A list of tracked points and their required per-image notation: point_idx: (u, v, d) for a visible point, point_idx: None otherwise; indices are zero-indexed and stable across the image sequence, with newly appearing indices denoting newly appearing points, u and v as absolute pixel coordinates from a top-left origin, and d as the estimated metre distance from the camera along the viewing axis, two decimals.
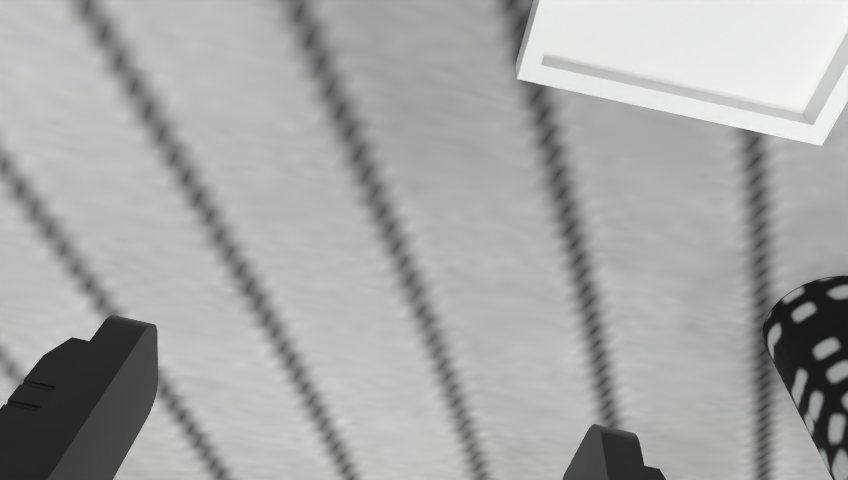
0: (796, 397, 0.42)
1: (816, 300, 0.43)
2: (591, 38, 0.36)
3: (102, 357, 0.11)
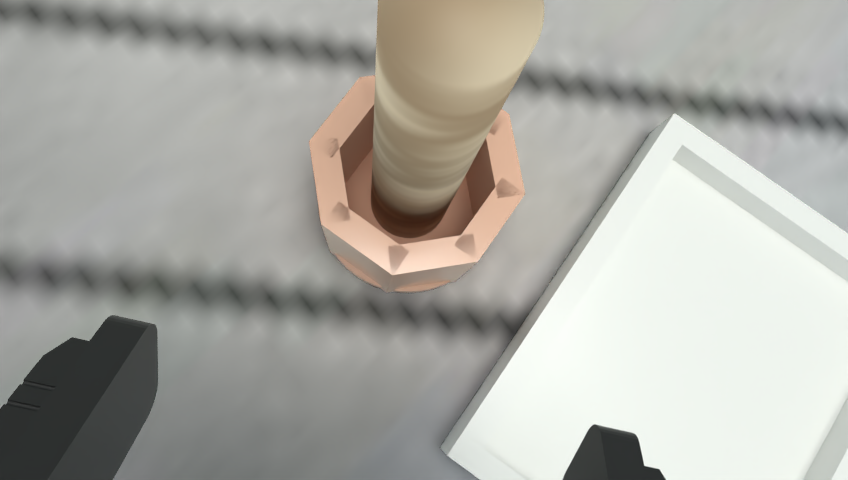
0: None
1: None
2: None
3: (102, 357, 0.11)
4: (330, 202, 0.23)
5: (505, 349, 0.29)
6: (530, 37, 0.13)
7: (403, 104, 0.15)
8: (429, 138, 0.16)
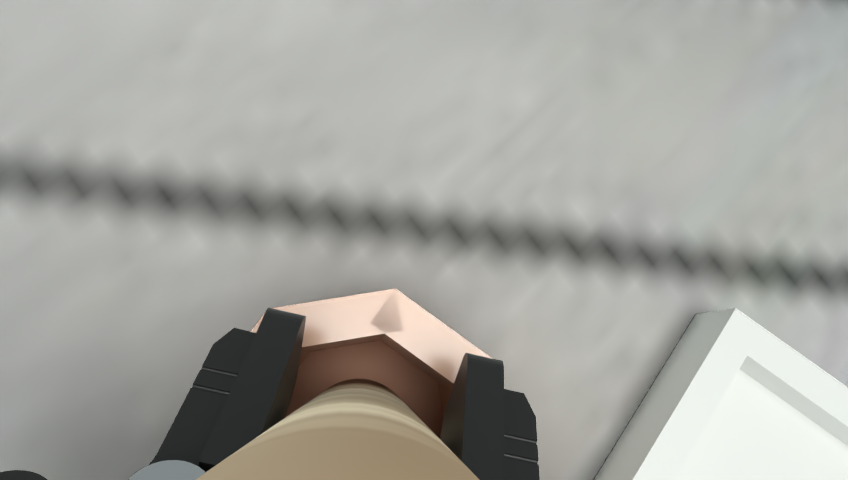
0: None
1: None
2: None
3: (271, 346, 0.12)
4: None
5: None
6: None
7: None
8: None
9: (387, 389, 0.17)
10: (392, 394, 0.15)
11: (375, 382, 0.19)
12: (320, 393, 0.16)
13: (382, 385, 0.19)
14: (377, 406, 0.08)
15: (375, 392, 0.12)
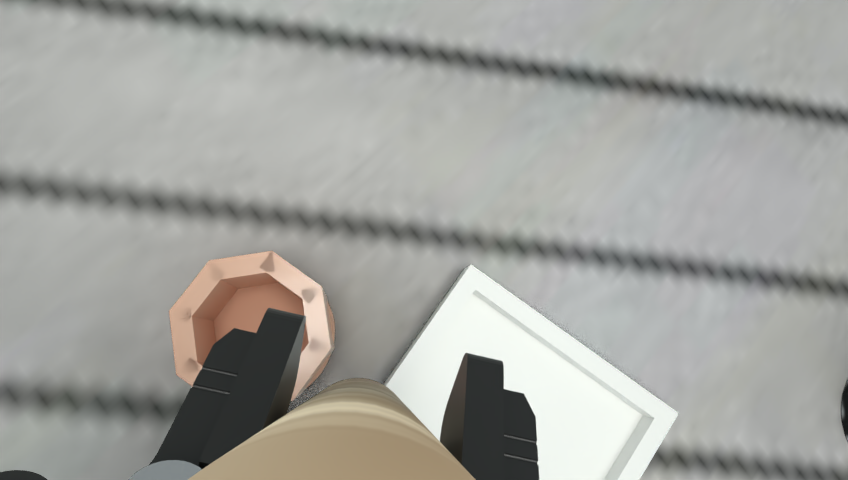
0: None
1: None
2: None
3: (272, 345, 0.12)
4: (183, 357, 0.31)
5: None
6: None
7: None
8: None
9: (385, 388, 0.17)
10: (390, 393, 0.15)
11: (374, 381, 0.19)
12: None
13: (381, 384, 0.19)
14: (374, 405, 0.08)
15: (373, 391, 0.12)
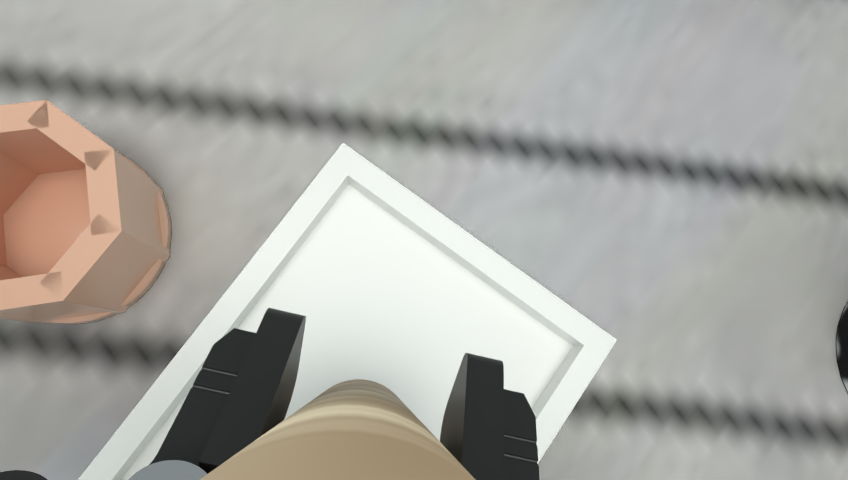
0: None
1: None
2: None
3: (271, 346, 0.12)
4: None
5: None
6: None
7: None
8: None
9: (387, 390, 0.17)
10: (392, 395, 0.15)
11: (375, 383, 0.19)
12: (320, 394, 0.16)
13: (382, 386, 0.19)
14: (376, 408, 0.08)
15: (375, 393, 0.12)
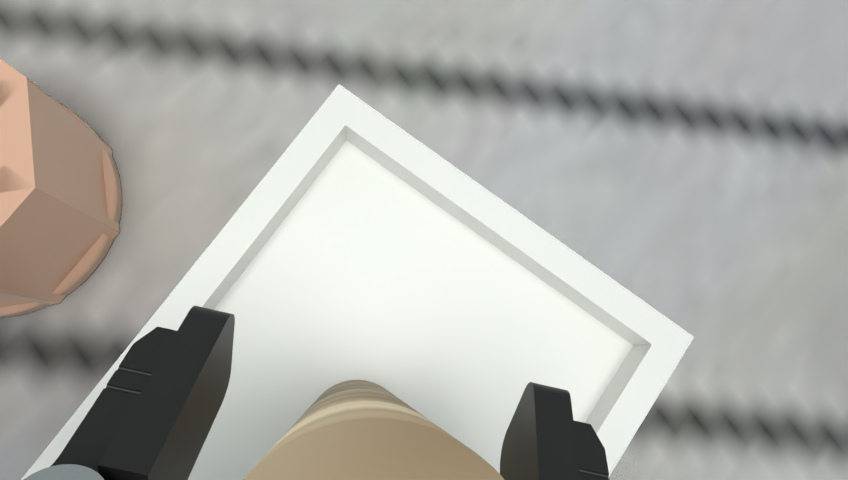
0: None
1: None
2: None
3: (192, 345, 0.11)
4: None
5: None
6: None
7: None
8: None
9: None
10: (392, 394, 0.16)
11: (373, 383, 0.20)
12: (325, 393, 0.17)
13: (380, 386, 0.20)
14: (391, 403, 0.09)
15: (380, 392, 0.13)
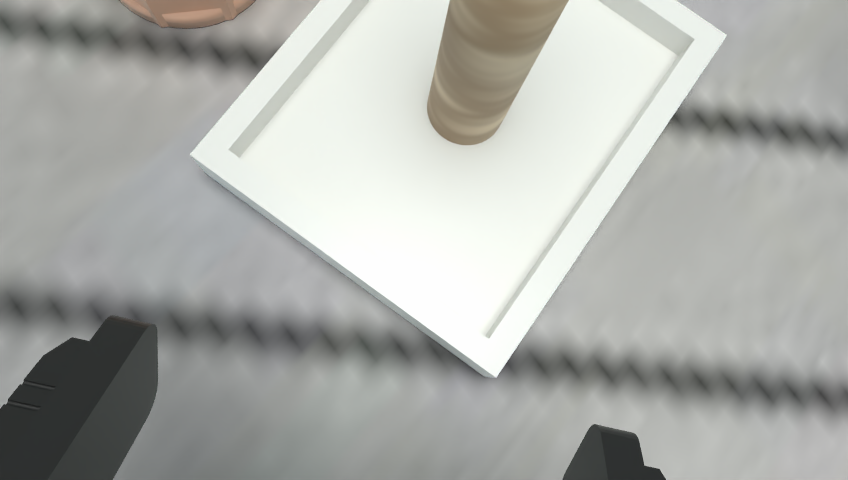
0: None
1: None
2: (485, 267, 0.27)
3: (102, 357, 0.11)
4: None
5: None
6: None
7: None
8: None
9: None
10: None
11: None
12: None
13: None
14: None
15: None
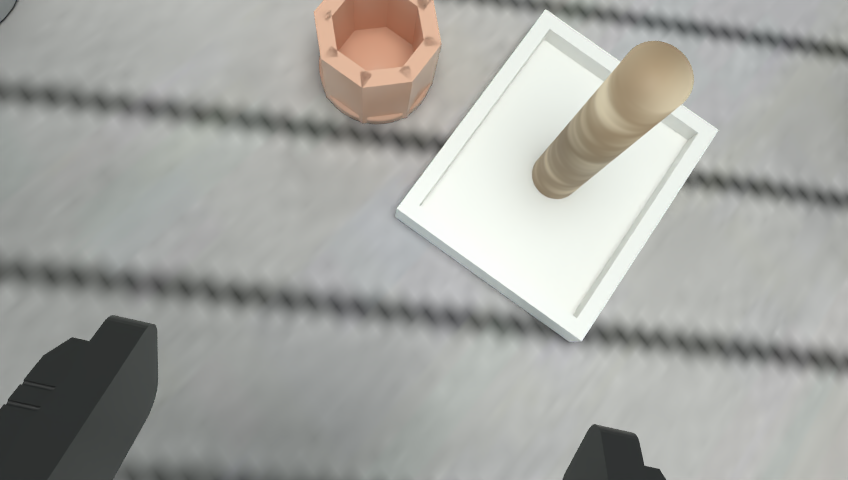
0: None
1: None
2: (570, 275, 0.44)
3: (102, 357, 0.11)
4: (326, 46, 0.40)
5: None
6: (687, 90, 0.29)
7: (619, 118, 0.31)
8: (623, 135, 0.32)
9: None
10: None
11: None
12: None
13: None
14: None
15: None
